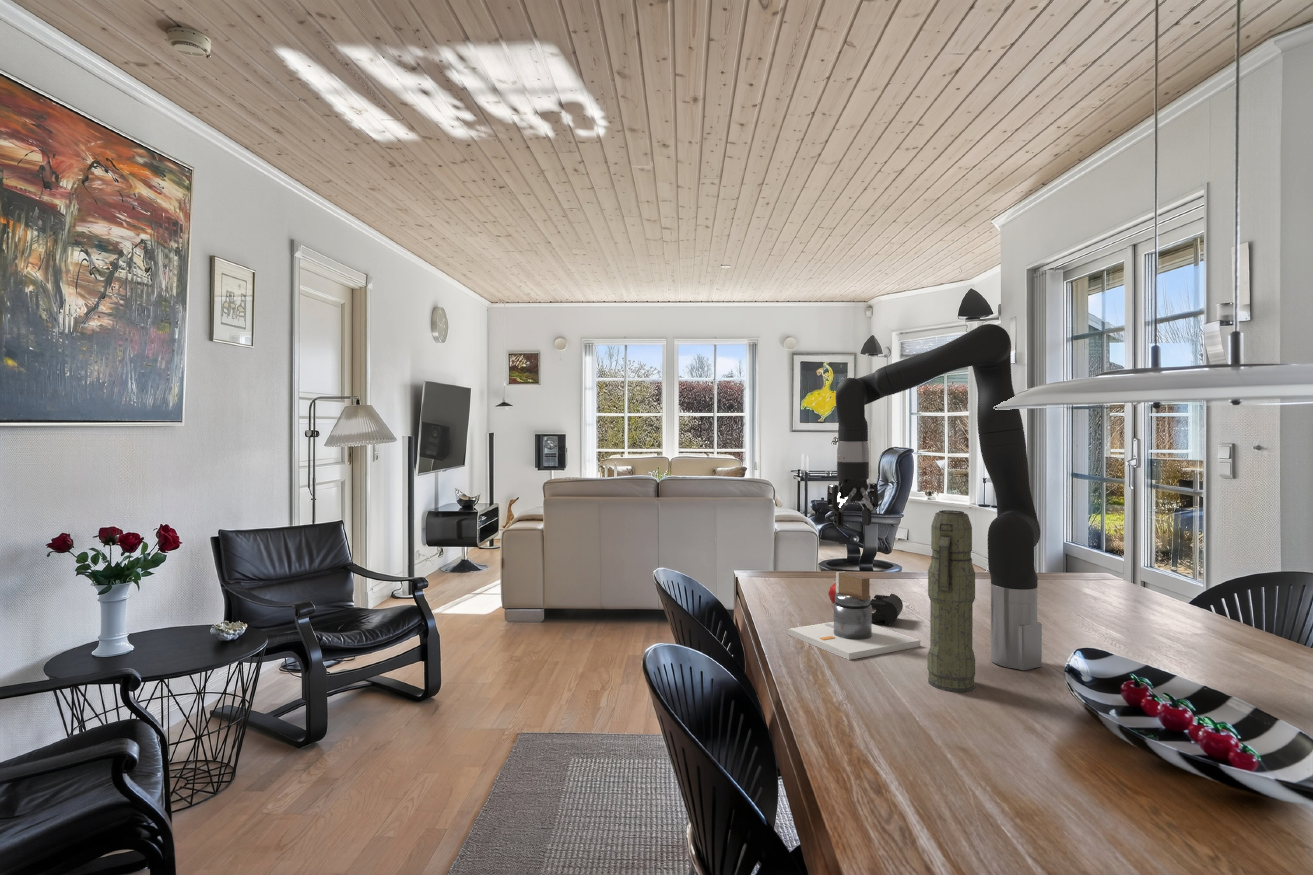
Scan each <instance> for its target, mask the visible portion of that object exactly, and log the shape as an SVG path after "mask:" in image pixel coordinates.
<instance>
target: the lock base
mask: <svg viewBox="0 0 1313 875" xmlns="http://www.w3.org/2000/svg"><path fill="white" fill-rule="evenodd" d="M872 613H873V608H872V606H871V605H870V606H869V607H865V608H848V607H842V606H839V605H836V604H835V603H834V604H833V621H829V622H823V623H817V624H812V625H806V626H799V627H798V626H797V627H792V628H788V636H791V637H794V638H795V639H797V640H800V641H802V642H805V643H807V644H809V645H812V646H815V647H817V648H819V649H820V650H821V649H822V650H823V651H826V652H829V653H832V654H833V655H836V656H838V657H841V658H844V659H845V660H847V661H851V660H856V659H861V658H866V657H872V656H878V655H883V654H888V653H893V652H898V651H899V652H900V651H902V650H903V651H904V650H907V649H914V648H920V647H921V640H920V639H917V638H916V637H912V636H909V635H906V634H903V633H900V632H897V631H895V630H891V629H888V628H886V627H884V626H880V625H874V624H872Z"/></svg>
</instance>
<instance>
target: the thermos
mask: <svg viewBox="0 0 1313 875" xmlns="http://www.w3.org/2000/svg"><path fill="white" fill-rule="evenodd" d="M930 529H931V530H930V533H931V535H930V536H931V542H930V543H931V544H930V546H931V552H932V554H931V557H930V558H931V559H930V565H929V566H928V569H927V596H928V598H929V600H930V603H929V604H930V606H929V607H930V609H929V610H930V611H929V613H930V615H929V617H930V618H929V619H930V621H929V622H930V626H929V627H930V628H929V629H930V630H929V632H930V633H929V634H930V636H929V638H930V639H929V641H930V644H929V645H930V647H929V649H928V652H927V654H926V656H927V657H926V658H927V660H926V661H927V662H926V665H927V667H926V668H927V671H928V678H927V680H928V684H929V685H930V686H932V687H934V688H936V689H938V690H943V691H946V692H952V693H953V692H955V693H966V692H972V691H973V690H974V689H975V676H976V657H975V656H976V655H975V651H974V649H973V624H974V623H973V622H974V621H973V613H974V612H973V605H974V604H973V603H975V600H976V572H975V568H974V566H973V558H972V552H973V526H972V523H971V519H970V517H969V514H968V513H966V512H964V511H963V510H954V509H953V510H951V509H948V510H946V509H945V510H938V512H935V514H934V517H933V519H932V523H931V527H930Z"/></svg>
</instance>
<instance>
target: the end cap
mask: <svg viewBox="0 0 1313 875" xmlns="http://www.w3.org/2000/svg"><path fill="white" fill-rule="evenodd" d="M871 606H872V610H874V609H875V611H874V612H872V624H874V625H877V626H880V627H888V626H890V625H892V624H893V623H894V622H896V621H897V619H898V617H899V616H900V614H901V612H902V611H903V607H904V604H903V601H902V598H900V596H898V595H897V594H895V593H890V595H882V594H875V595H874V596H873V598H872V599H871Z"/></svg>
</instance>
